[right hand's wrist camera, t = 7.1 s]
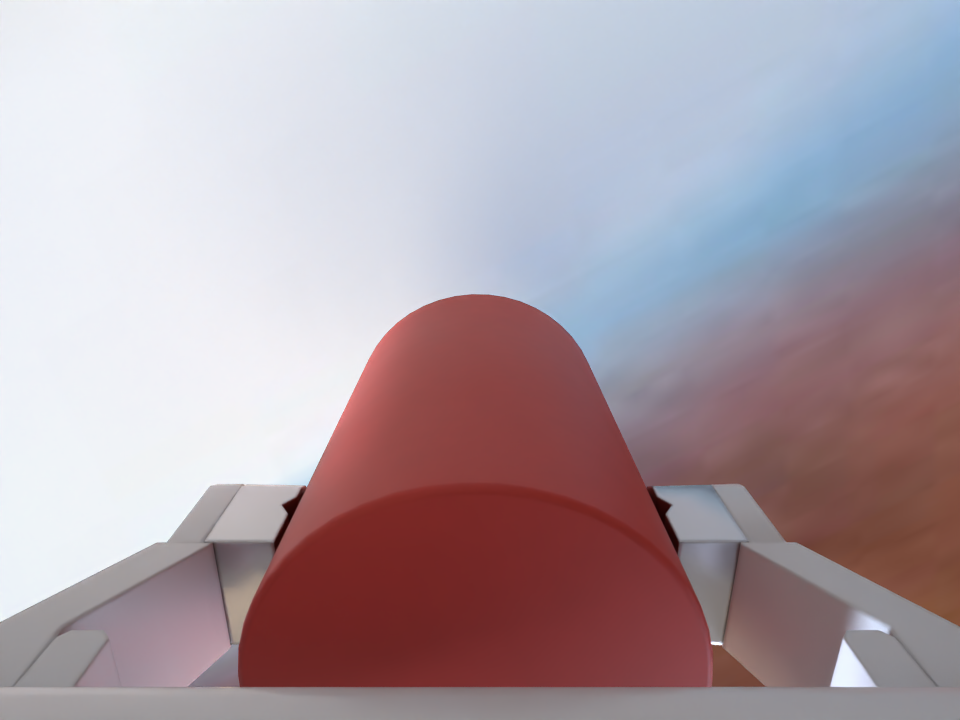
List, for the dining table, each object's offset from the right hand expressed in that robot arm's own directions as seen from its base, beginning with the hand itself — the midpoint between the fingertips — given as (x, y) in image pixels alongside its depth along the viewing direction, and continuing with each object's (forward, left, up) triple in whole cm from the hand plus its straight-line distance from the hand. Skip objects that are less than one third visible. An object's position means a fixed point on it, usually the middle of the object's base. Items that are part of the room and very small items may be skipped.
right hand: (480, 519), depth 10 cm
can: (0, 0, -5) cm, 5 cm away
